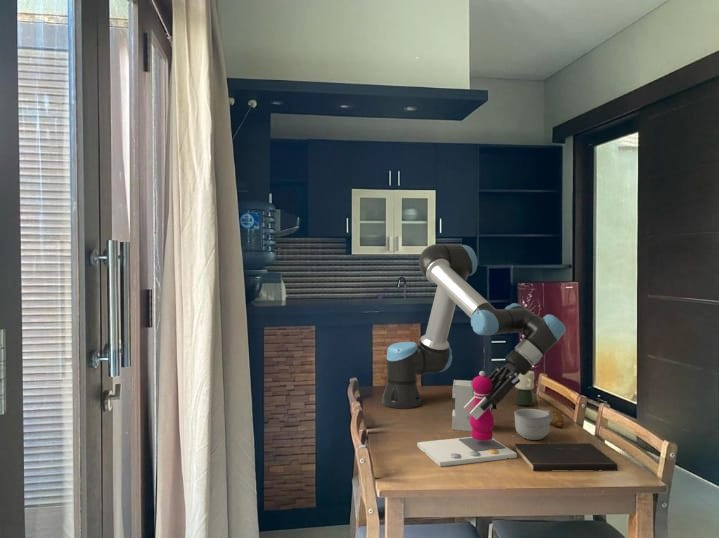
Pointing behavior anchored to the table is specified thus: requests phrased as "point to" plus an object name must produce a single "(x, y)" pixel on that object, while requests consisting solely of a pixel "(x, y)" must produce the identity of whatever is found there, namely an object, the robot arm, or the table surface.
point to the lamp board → (465, 451)
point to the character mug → (525, 389)
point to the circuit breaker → (463, 404)
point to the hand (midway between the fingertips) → (470, 413)
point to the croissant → (556, 419)
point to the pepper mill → (486, 420)
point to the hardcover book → (565, 457)
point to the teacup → (532, 423)
